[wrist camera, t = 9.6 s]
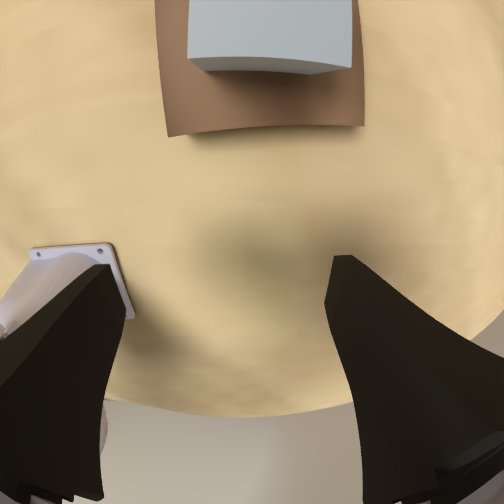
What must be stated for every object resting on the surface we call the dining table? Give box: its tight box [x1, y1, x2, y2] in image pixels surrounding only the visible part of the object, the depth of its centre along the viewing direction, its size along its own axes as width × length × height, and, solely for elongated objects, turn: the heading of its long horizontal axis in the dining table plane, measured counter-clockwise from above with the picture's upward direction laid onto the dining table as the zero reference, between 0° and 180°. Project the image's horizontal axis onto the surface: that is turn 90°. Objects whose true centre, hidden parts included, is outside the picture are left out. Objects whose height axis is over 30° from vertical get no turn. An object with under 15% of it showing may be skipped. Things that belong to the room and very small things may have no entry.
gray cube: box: [187, 0, 352, 75], centre depth 7 cm, size 5×5×5 cm
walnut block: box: [155, 0, 365, 137], centre depth 11 cm, size 10×10×4 cm
